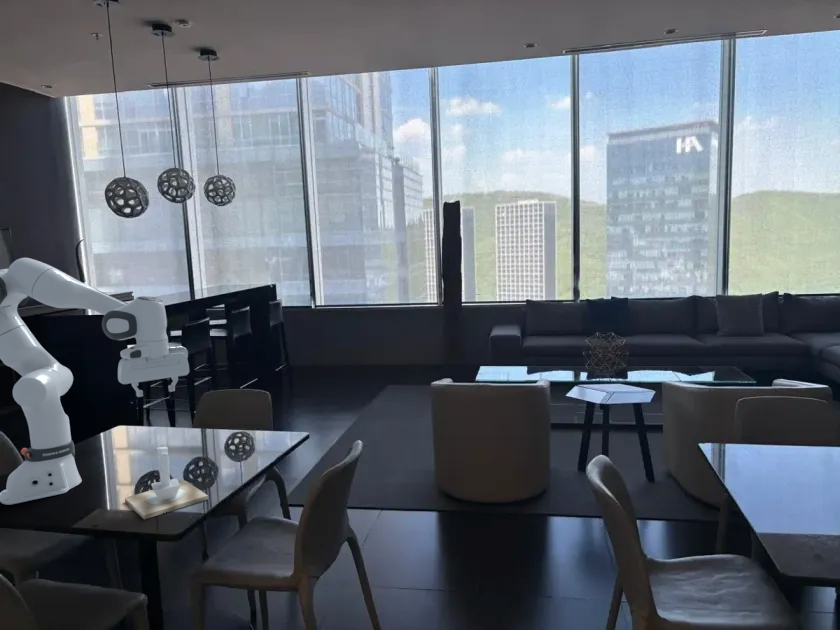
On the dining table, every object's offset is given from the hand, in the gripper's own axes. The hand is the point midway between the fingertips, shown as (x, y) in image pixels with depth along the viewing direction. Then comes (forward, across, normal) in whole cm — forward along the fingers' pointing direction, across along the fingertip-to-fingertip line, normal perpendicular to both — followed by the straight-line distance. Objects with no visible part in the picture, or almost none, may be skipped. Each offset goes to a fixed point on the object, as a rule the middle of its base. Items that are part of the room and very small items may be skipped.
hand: (156, 393), depth 182 cm
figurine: (+29, +2, +11) cm, 31 cm away
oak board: (+30, +2, +10) cm, 32 cm away
